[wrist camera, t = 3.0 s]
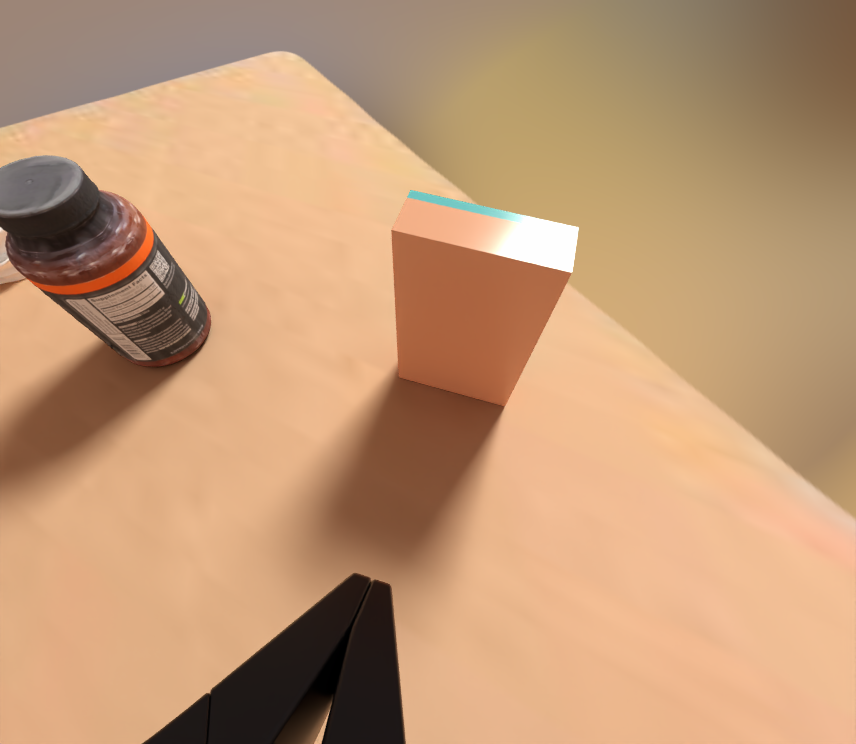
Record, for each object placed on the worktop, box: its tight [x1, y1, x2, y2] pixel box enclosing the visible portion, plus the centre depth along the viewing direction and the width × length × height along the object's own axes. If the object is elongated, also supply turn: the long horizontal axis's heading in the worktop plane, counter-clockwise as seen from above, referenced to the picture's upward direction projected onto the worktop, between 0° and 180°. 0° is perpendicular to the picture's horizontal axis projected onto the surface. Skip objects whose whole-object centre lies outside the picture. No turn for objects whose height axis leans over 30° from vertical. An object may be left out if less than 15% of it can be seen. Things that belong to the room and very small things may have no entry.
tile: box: [391, 190, 578, 406], centre depth 21 cm, size 2×7×12 cm, turn 74°
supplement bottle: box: [0, 155, 211, 367], centre depth 22 cm, size 6×6×11 cm
